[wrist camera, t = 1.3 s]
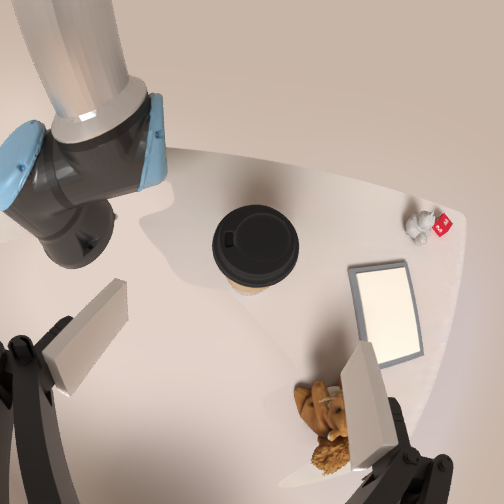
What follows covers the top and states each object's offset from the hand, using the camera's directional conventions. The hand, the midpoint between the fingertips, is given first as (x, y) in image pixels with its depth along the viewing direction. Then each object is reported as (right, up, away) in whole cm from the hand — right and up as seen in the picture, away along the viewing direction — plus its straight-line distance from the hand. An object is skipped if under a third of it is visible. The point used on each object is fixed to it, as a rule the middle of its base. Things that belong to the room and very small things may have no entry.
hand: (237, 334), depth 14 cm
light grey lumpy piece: (+32, +8, +33) cm, 47 cm away
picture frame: (+23, -6, +27) cm, 36 cm away
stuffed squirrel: (+12, -20, +22) cm, 32 cm away
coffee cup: (0, 0, +28) cm, 29 cm away
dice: (+39, +9, +34) cm, 53 cm away
